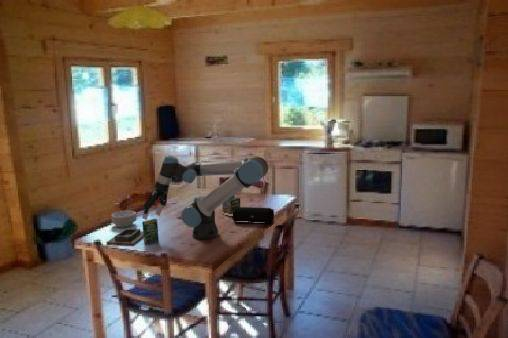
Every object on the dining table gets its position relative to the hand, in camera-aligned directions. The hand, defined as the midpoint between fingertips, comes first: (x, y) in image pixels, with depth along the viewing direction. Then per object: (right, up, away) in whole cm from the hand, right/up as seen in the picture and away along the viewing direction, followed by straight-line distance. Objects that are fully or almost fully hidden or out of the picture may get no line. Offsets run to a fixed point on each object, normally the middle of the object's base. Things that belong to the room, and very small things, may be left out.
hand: (151, 216), depth 246 cm
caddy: (-15, -13, +6) cm, 21 cm away
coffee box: (0, -15, -1) cm, 15 cm away
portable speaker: (+58, -8, +34) cm, 68 cm away
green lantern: (+43, -4, +54) cm, 69 cm away
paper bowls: (-24, -9, +32) cm, 41 cm away
